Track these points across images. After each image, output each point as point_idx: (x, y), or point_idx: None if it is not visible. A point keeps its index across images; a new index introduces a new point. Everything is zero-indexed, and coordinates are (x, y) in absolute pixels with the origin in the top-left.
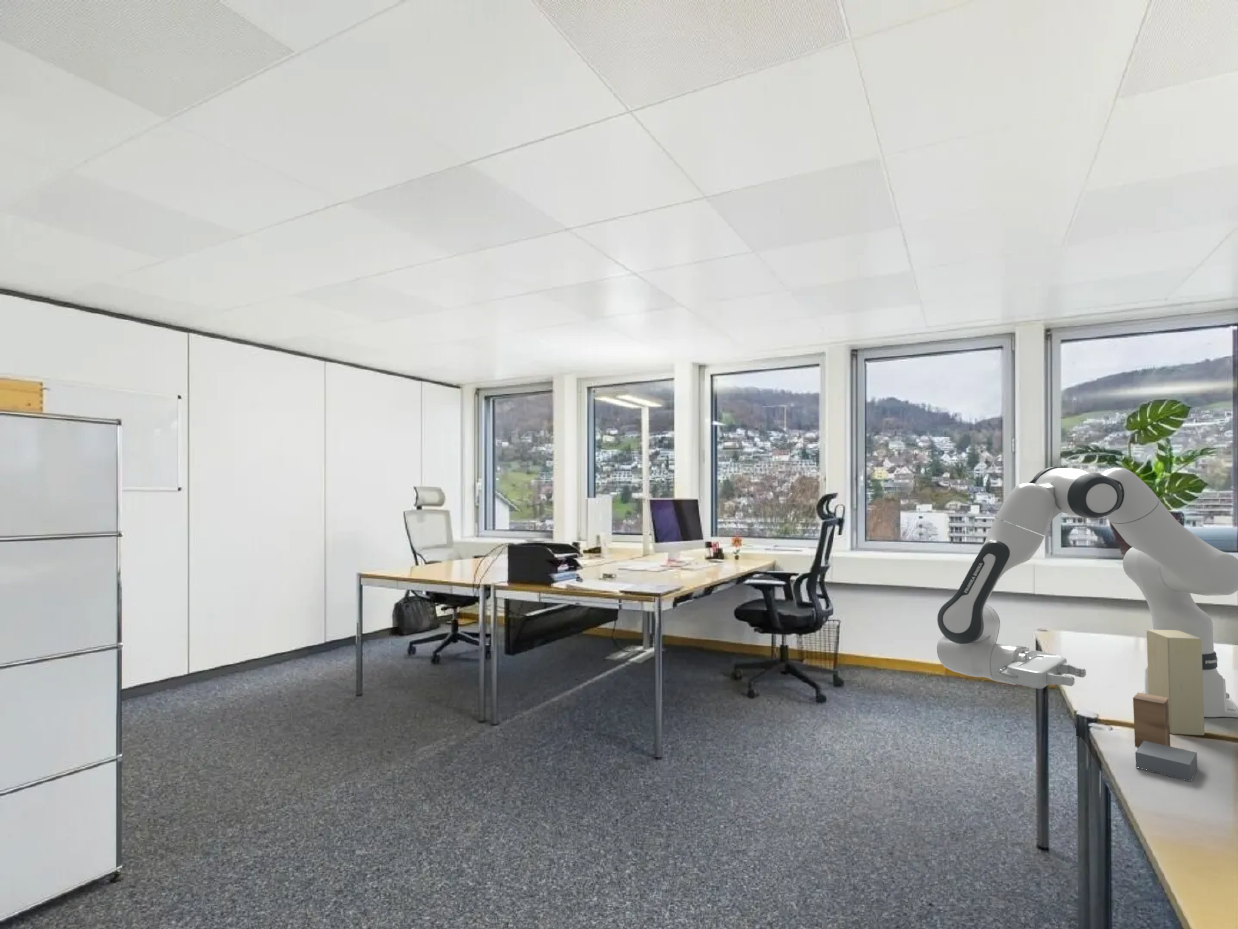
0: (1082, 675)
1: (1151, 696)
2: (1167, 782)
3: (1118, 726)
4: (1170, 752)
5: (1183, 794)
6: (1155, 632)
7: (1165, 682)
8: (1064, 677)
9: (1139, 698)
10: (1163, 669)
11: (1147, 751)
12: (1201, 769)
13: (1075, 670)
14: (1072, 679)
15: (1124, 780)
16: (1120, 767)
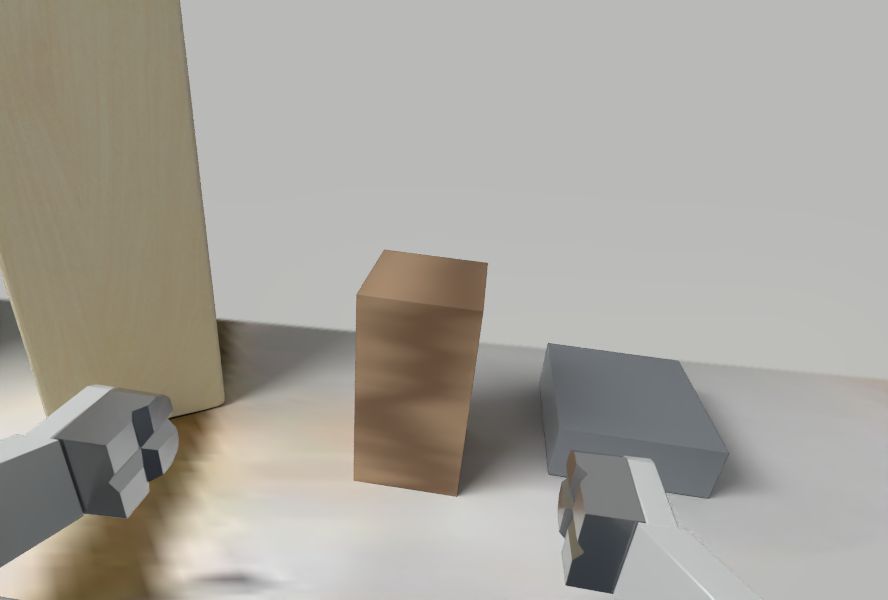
0: (166, 446)
1: (402, 273)
2: (735, 438)
3: (177, 549)
4: (615, 382)
5: (779, 417)
6: None
7: (175, 220)
8: (670, 519)
9: (472, 298)
10: (151, 160)
11: (678, 425)
12: (538, 377)
13: (113, 460)
14: (645, 459)
15: (876, 529)
16: (762, 540)
